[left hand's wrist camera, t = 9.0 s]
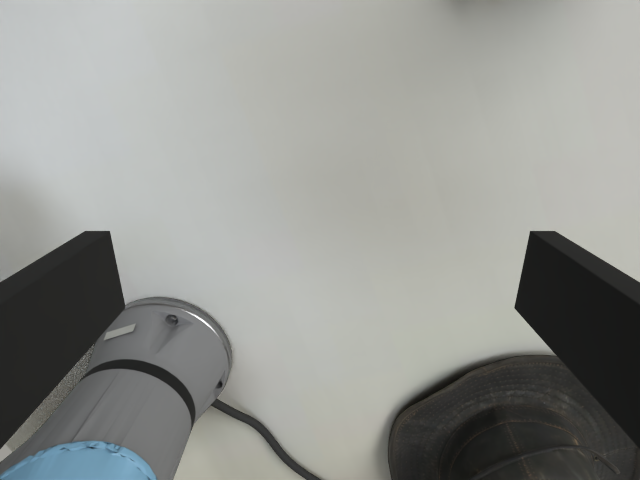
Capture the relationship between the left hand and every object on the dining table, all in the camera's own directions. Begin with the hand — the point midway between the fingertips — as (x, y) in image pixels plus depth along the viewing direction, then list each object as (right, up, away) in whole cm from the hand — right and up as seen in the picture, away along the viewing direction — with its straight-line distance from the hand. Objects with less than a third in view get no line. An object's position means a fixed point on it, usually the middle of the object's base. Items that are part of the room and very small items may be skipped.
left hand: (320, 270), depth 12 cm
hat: (+25, -28, +40) cm, 55 cm away
